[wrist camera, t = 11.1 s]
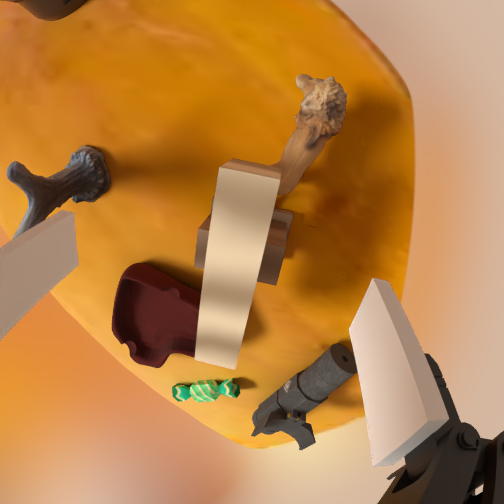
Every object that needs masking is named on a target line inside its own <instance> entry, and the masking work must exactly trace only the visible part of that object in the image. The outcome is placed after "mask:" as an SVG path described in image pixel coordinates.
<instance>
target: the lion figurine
mask: <svg viewBox="0 0 504 504" xmlns="http://www.w3.org/2000/svg"><path fill="white" fill-rule="evenodd" d="M296 84H297V86H298V87H299V88H300V89H302V91H303V94H304V99H303V101H302V103H301V104H300V106H301V109H300V111H299V114H297V115H295V122H296V125H297V129H296V130H295V131H294V132H293V134H292V135H291V137H290V138H289V140H288V142H287V145H286V147H285V149H284V152H283V155H282V158H281V160H280V161H279V162H278V163H277V164H273V165H270V166H272V167H277V168H281V169H282V171H281V179H280V184H279V188H278V193H277V195H285V194H287V193H289V192H291V191H292V190H293V189H294V188H295V187H296V186H297V185H298V182H299V179H301V178H302V177H303V172H304V171H305V170H306V169H307V168H308V167H309V166H310V164H311V163H312V162H313V161H314V160H315V159H316V158H317V156H318V155H319V154H320V152H321V151H322V149H323V147H324V145H325V143H326V141H327V140H329V139H330V138H331V137H332V136H335V135H336V134H338V133H339V131H340V129H341V128H342V123H343V121H344V118H345V116H344V115H345V114H346V105H345V104H346V102H347V100H346V97H347V94H346V93H345V92H344V90H343V87H342V86H341V84H340V83H337V82H336V81H335V79H334V77H333V76H331V77H329V78H326V79H325V80H322V79H318V78H315V79H313V78H311V77H310V76H309V75H304V74H300V75H298V76H297V77H296Z"/></svg>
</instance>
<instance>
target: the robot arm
mask: <svg viewBox="0 0 504 504" xmlns="http://www.w3.org/2000/svg"><path fill="white" fill-rule="evenodd" d="M2 1H9V2H15V3H19V4H21V5H22V6H23V7H24V8H25V9H27V10H28V11H29V12H30V13H32V14H33V15H34V16H35V17H37V18H39V19H43V20H48V21H54V20H58V19H61V18H63V17H65V16H67V15H68V14H70V13H71V12H73V11H74V10H76V9H77V8H78V7H79V6H80V5H82V4H83V3H84V2H85V1H86V0H2ZM78 265H79V261H78V253H77V244H76V234H75V221H74V212H69V211H64V210H62V211H60V212H58V213H57V214H55V215H53V216H51V217H49V218H48V219H46V220H44V221H42V222H41V223H39V224H37V225H36V226H34V227H32V228H31V229H29V230H27V231H26V232H24V233H22V234H21V235H19V236H18V237H16V238H14V239H13V240H11V241H10V242H8V243H7V244H5V245H4V246H2V247H1V248H0V341H1V339H2V338H3V337H4V336H5V335H6V334H7V333H8V332H9V331H10V330H11V329H12V327H14V326H15V325H16V323H17V322H18V321H19V320H20V319H21V318H22V317H23V316H24V315H25V314H26V313H27V312H28V311H29V310H30V309H31V308H32V307H33V306H34V305H35V304H36V303H37V302H39V301H40V300H41V299H42V298H43V297H44V296H45V295H46V294H47V293H48V292H49V291H50V290H51V289H52V288H54V287H55V286H56V285H57V284H58V283H59V282H60V281H61V280H62V279H63V278H65V277H66V276H67V275H68V274H69V273H70V272H71V271H73V270H74V269H75V268H76V267H77V266H78ZM349 333H350V337H351V342H352V346H353V351H354V356H355V360H356V365H357V370H358V375H359V380H360V386H361V391H362V397H363V402H364V408H365V414H366V421H367V427H368V434H369V441H370V448H371V456H372V465H373V467H374V466H387V465H393V464H395V463H397V462H398V461H399V460H401V459H402V458H403V457H405V463H406V465H404V466H403V467H401V468H400V469H398V470H397V471H395V472H394V473H392V474H391V475H390V476H389V477H388V478H387V479H388V480H390V479H392V478H393V477H395V476H396V477H395V479H394V480H393V482H392V483H391V485H390V486H389V488H388V489H387V491H386V492H385V494H384V495H383V497H382V498H381V500H380V501H379V502H378V504H504V431H503V432H501V433H500V434H499V435H498V436H497V437H495V438H494V439H493V440H489V439H484V438H480V436H479V434H478V432H477V430H476V429H475V428H474V427H473V426H471V425H470V424H468V423H465V422H464V423H461V421H460V419H459V416H458V414H457V411H456V408H455V406H454V403H453V400H452V398H451V395H450V392H449V390H448V388H446V383H445V380H444V378H442V373H441V371H440V369H439V366H438V364H437V363H436V362H435V361H434V359H433V358H432V357H431V356H430V355H429V354H425V353H424V352H423V350H422V348H421V346H420V343H419V341H418V339H417V337H416V335H415V333H414V330H413V328H412V326H411V324H410V322H409V321H408V318H407V316H406V314H405V312H404V310H403V308H402V306H401V304H400V302H399V300H398V298H397V296H396V294H395V292H394V290H393V289H392V287H391V285H390V283H389V281H385V280H381V279H376V278H372V280H371V283H370V285H369V287H368V290H367V292H366V294H365V296H364V298H363V301H362V303H361V305H360V307H359V309H358V311H357V313H356V316H355V318H354V320H353V322H352V324H351V326H350V328H349ZM483 484H484V486H483V492H481V493H480V494H478V495H475V489H476V488H478V487H479V486H481V485H483Z"/></svg>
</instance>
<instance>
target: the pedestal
mask: <svg viewBox="0 0 504 504" xmlns="http://www.w3.org/2000/svg"><path fill="white" fill-rule="evenodd" d="M214 197H215V196H214ZM214 197H213V201H212V208H211V214H210V215H209V216H208V218H207V219H206V220H205V221H204V222H203V224H202V225H201V226H200V227H199V229H198V236H197V245H196V255H195V264H194V267H196V268H201V269H204V267H205V259H206V252H207V244H208V237H209V230H210V223H211V216H212V210H213V203H214ZM292 218H293V212H291V211H287V210H282V209H278V208H274V210H273V214H272V219H271V223H270V227H269V231H268V236H267V240H266V244H265V248H264V253H263V257H262V261H261V265H260V269H259V274H258V278H257V282H262V283H267V284H271V285H276V284H277V281H278V277H279V273H280V270H281V266H282V262H283V258H284V255H285V251H286V241H287V237H288V234H289V230H290V226H291V222H292Z"/></svg>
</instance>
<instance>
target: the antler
mask: <svg viewBox="0 0 504 504" xmlns="http://www.w3.org/2000/svg"><path fill="white" fill-rule="evenodd" d="M65 168H66V169H64V170H62V171H60V172H57V173H56V174H54V175H52V176H50V177H48V178H44V177H43V176H37V175H33V174H32V173H31V172H30V171H29V170H28V169H26V167H25V166H24V165H23V164H21V163H19V162H17V161H14V162H12V163H11V164H10V166H9V167H8V169H7V177H8V179H9V180H10V181H11V182H13V183H14V184H16V185H17V186H18V187H19V188H20V189H22V190H23V191H24V193H25V194H26V195H27V198H28V209H27V212H26V214H25V216H24V218H23V220H22V222H21V224H20V226H19V228H18V230H17V232H16V234H15V235H14V237H13V239H14V238H16V237H18V236H19V235H21V234H22V233H24V232H26V231H27V230H29V229H31V228H32V227H34V226H36V225H37V224H39V223H41V222H42V221H44V220H45V219H46V217H47V216H48V215H49V214H50V213H51V212H52V211H53V210H54V209H55V208H56V207H61V205H62V204H63V203H65V202H66V201H67V200H68V199H69V198H71V197H72V200H73V201H74V202H75V203H78V202H82V201H86V202H94V201H95V200H96V199H97V198H99V197H100V196H101V195H102V193H105V192H106V191H107V190H108V189H109V186H110V183H111V180H110V176H109V173H108V167H107V165H106V164H105V161H104V157H103V154H102V152H99V151H98V150H97V149H94V148H91V147H86V146H82V147H80V148H79V149H78V151H76V152H74V153H72V154H71V159H70V161H69V164H67V165H66V167H65ZM13 239H12V240H13Z"/></svg>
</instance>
